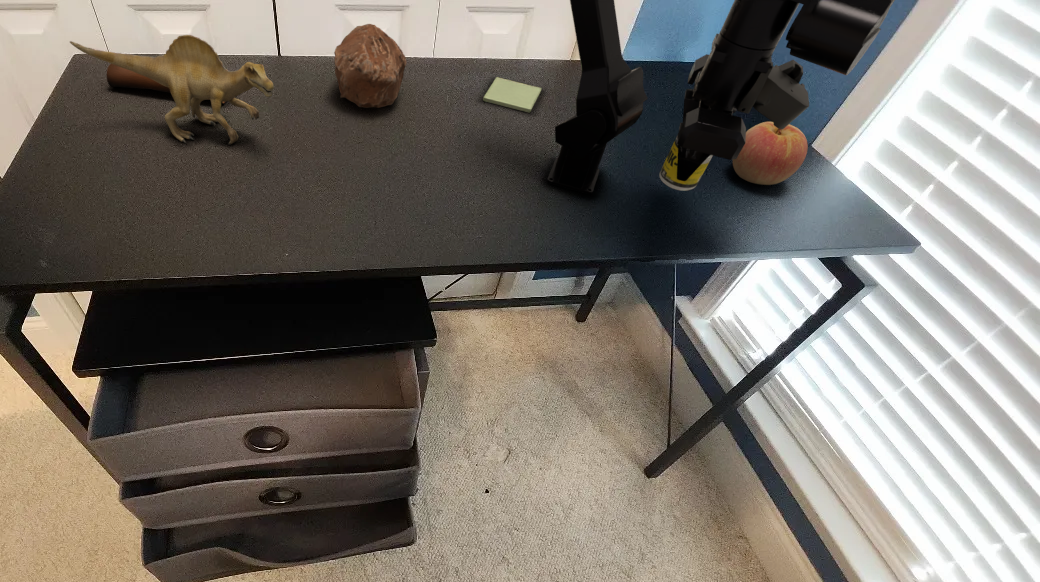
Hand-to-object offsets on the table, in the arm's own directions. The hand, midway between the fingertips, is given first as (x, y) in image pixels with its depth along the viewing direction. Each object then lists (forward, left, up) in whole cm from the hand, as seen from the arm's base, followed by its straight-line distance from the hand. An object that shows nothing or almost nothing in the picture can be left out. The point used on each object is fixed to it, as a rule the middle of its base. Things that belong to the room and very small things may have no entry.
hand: (682, 169), depth 74 cm
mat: (+24, +26, -8) cm, 37 cm away
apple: (+18, -13, -8) cm, 23 cm away
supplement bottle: (0, 0, -2) cm, 2 cm away
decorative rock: (+12, +47, -8) cm, 50 cm away
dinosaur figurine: (-9, +65, -8) cm, 67 cm away
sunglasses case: (0, +75, -8) cm, 76 cm away
